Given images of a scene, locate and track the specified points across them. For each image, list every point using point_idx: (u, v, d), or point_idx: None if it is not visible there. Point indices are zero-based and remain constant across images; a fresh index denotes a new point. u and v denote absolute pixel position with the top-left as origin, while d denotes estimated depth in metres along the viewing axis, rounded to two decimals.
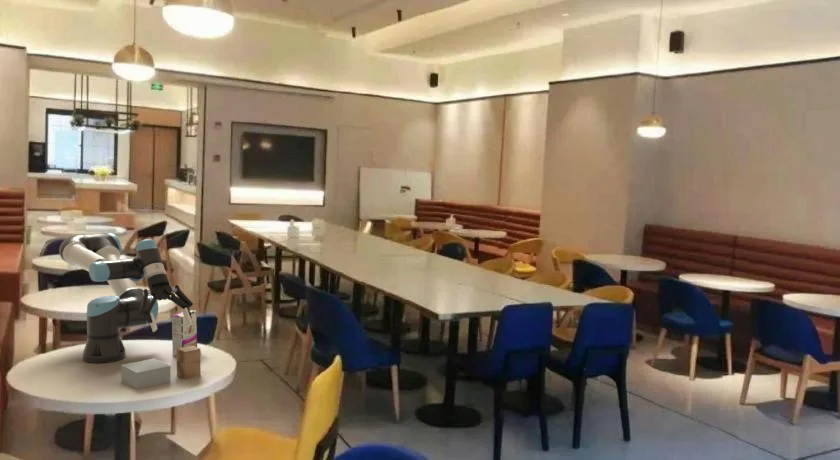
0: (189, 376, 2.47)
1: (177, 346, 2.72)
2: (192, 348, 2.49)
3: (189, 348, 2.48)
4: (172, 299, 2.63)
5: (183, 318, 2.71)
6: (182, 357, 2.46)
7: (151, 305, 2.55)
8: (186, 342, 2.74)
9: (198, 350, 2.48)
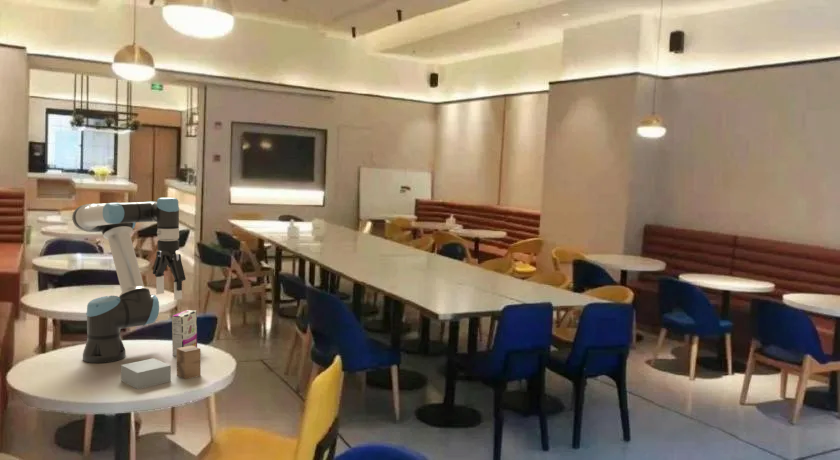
0: (189, 376, 2.47)
1: (177, 346, 2.72)
2: (192, 348, 2.49)
3: (189, 348, 2.48)
4: None
5: (183, 318, 2.71)
6: (182, 357, 2.46)
7: (158, 269, 2.59)
8: (186, 342, 2.74)
9: (198, 350, 2.48)
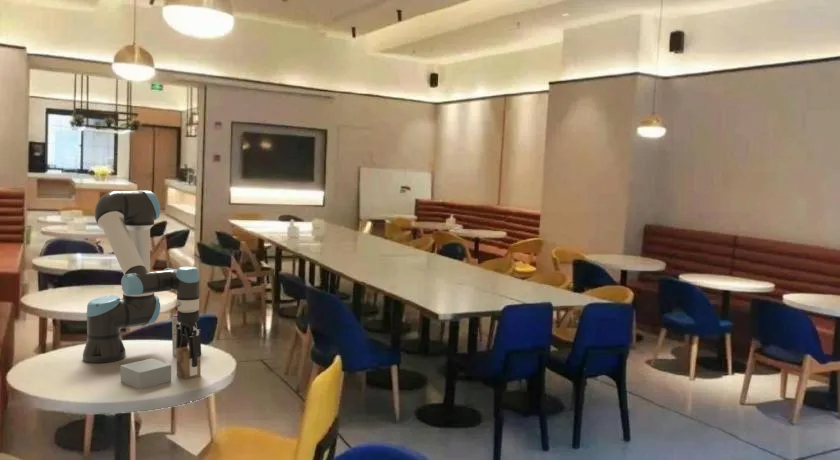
0: (189, 376, 2.47)
1: None
2: None
3: None
4: None
5: None
6: (182, 357, 2.46)
7: (180, 344, 2.50)
8: None
9: None
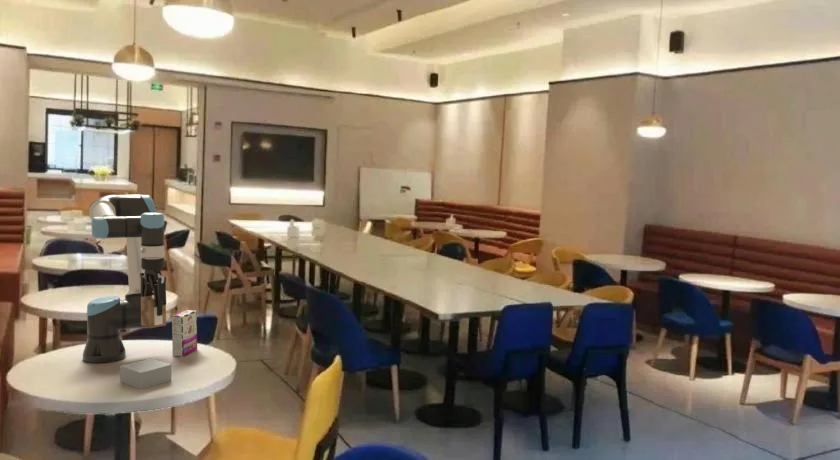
0: (154, 325, 2.39)
1: (177, 346, 2.72)
2: None
3: None
4: None
5: (183, 318, 2.71)
6: (146, 305, 2.38)
7: (144, 293, 2.42)
8: (186, 342, 2.74)
9: None
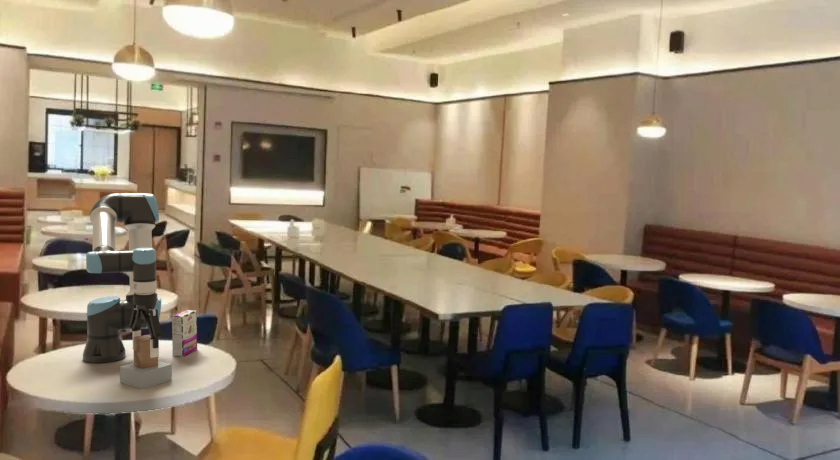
0: (146, 366, 2.39)
1: (177, 346, 2.72)
2: (150, 336, 2.41)
3: (147, 337, 2.40)
4: None
5: (183, 318, 2.71)
6: (138, 346, 2.38)
7: (134, 323, 2.43)
8: (186, 342, 2.74)
9: None
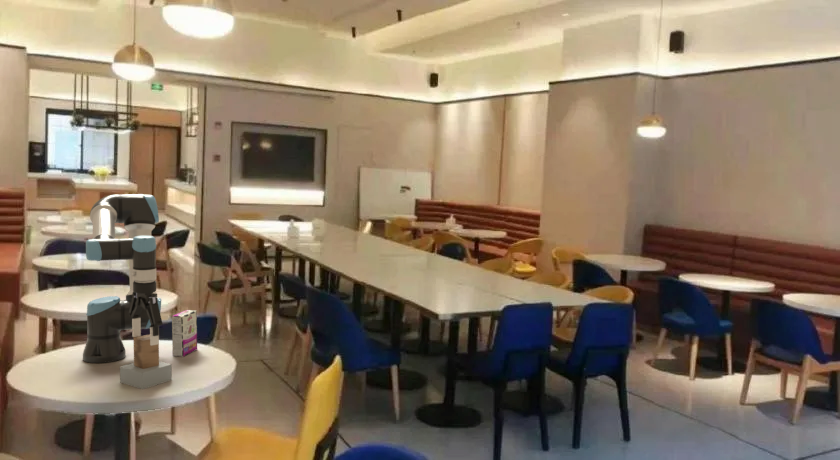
0: (147, 366, 2.39)
1: (177, 346, 2.72)
2: None
3: (147, 337, 2.40)
4: None
5: (183, 318, 2.71)
6: (139, 346, 2.38)
7: (134, 311, 2.43)
8: (186, 342, 2.74)
9: None
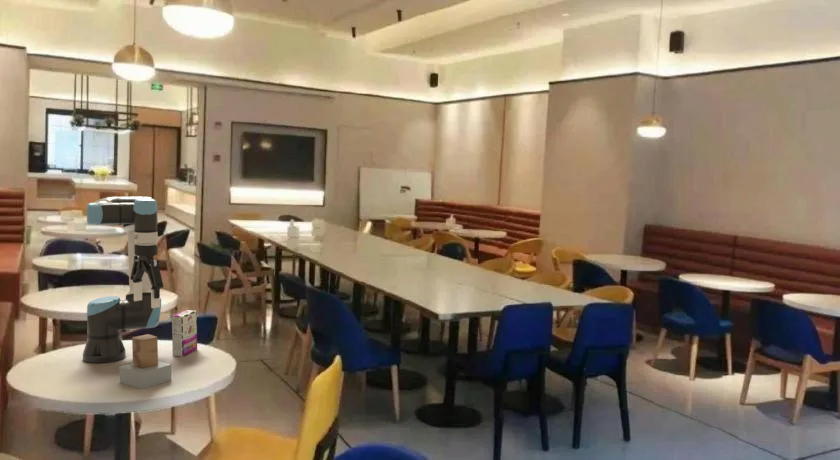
0: (146, 365, 2.39)
1: (177, 346, 2.72)
2: (149, 336, 2.42)
3: (146, 337, 2.40)
4: None
5: (183, 318, 2.71)
6: (138, 346, 2.38)
7: (135, 275, 2.44)
8: (186, 342, 2.74)
9: (155, 338, 2.41)
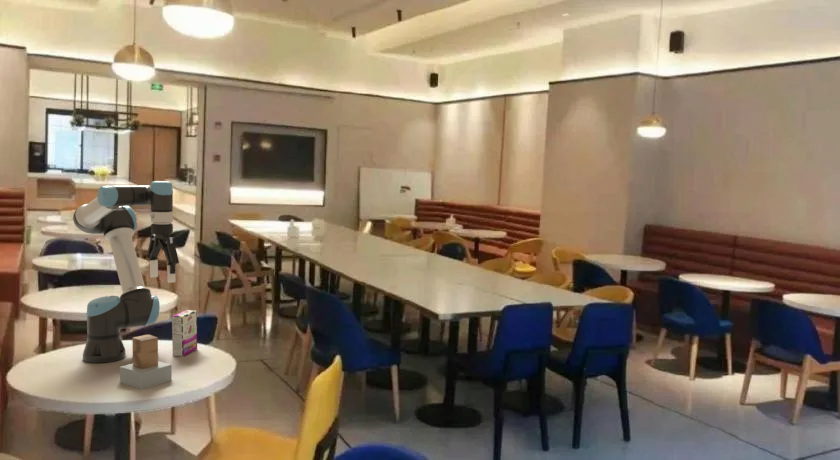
0: (146, 366, 2.39)
1: (177, 346, 2.72)
2: (149, 337, 2.41)
3: (146, 337, 2.40)
4: None
5: (183, 318, 2.71)
6: (139, 346, 2.38)
7: (151, 253, 2.59)
8: (186, 342, 2.74)
9: (155, 339, 2.40)
